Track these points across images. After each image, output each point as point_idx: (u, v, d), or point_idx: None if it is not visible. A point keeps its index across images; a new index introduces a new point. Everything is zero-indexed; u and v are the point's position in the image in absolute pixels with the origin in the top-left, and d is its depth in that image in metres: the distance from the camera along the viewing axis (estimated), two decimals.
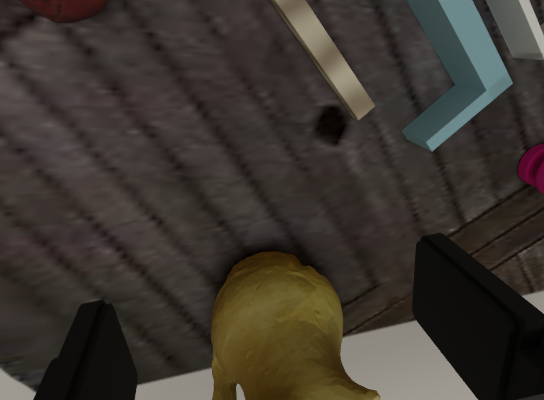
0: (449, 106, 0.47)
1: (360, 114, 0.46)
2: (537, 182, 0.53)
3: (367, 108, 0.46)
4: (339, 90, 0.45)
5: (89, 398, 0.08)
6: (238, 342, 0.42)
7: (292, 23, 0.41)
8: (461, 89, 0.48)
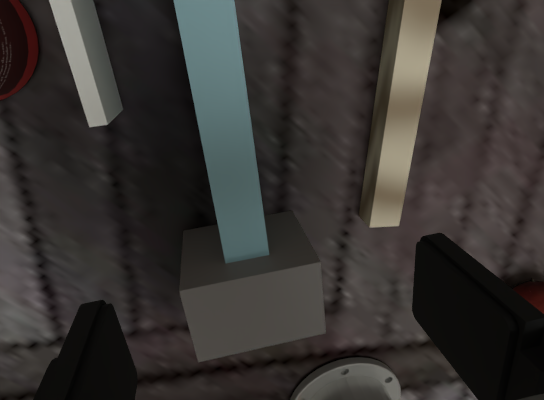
0: None
1: None
2: None
3: None
4: (430, 51, 0.26)
5: (89, 398, 0.08)
6: None
7: (406, 179, 0.29)
8: None
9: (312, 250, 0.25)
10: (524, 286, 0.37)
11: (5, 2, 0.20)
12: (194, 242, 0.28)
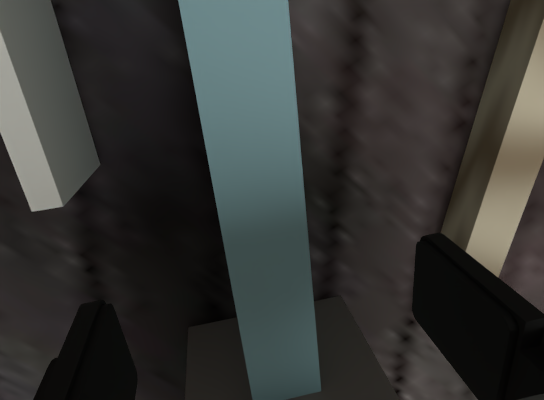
0: None
1: None
2: None
3: None
4: None
5: (89, 398, 0.08)
6: None
7: (502, 259, 0.20)
8: None
9: (388, 385, 0.16)
10: None
11: None
12: (204, 353, 0.19)
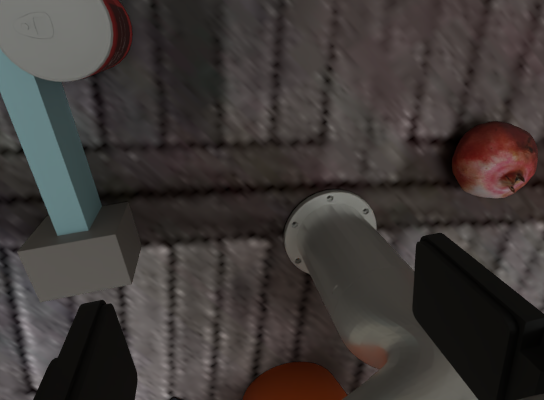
0: None
1: None
2: None
3: None
4: None
5: (89, 398, 0.08)
6: None
7: None
8: None
9: (117, 227, 0.38)
10: None
11: (123, 13, 0.34)
12: (48, 223, 0.41)
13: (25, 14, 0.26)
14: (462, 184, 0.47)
